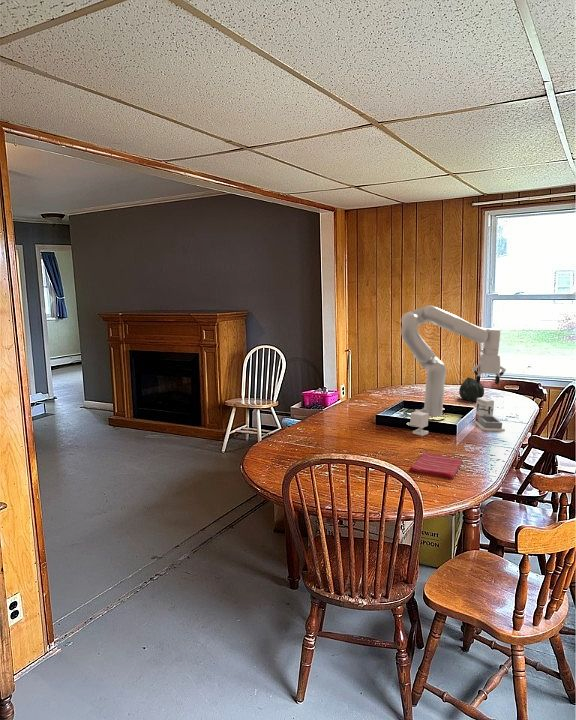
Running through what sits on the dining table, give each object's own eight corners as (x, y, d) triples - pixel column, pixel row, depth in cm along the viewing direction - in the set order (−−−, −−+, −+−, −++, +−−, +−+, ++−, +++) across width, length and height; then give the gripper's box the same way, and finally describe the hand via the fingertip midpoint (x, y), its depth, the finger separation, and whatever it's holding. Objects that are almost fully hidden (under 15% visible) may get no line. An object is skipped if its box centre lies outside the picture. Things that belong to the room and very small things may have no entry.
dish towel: (407, 473, 209) (408, 466, 208) (421, 455, 230) (422, 449, 229) (452, 482, 201) (453, 475, 201) (463, 463, 222) (463, 457, 222)
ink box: (474, 418, 291) (476, 397, 289) (482, 418, 292) (484, 396, 290) (484, 422, 283) (486, 401, 281) (492, 422, 284) (494, 400, 282)
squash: (492, 392, 331) (479, 372, 336) (479, 396, 321) (466, 376, 327) (476, 404, 341) (463, 384, 346) (463, 408, 331) (450, 387, 337)
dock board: (482, 430, 269) (483, 422, 268) (474, 422, 282) (475, 415, 281) (504, 430, 268) (505, 423, 268) (495, 423, 281) (496, 416, 281)
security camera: (416, 430, 265) (417, 410, 264) (428, 433, 260) (430, 413, 259) (409, 432, 261) (410, 412, 259) (421, 436, 256) (423, 415, 254)
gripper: (476, 352, 278) (472, 384, 281) (509, 353, 277) (506, 385, 280) (471, 350, 285) (468, 381, 288) (504, 351, 285) (501, 383, 288)
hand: (487, 383), depth 284 cm, fingers open, 9 cm apart
